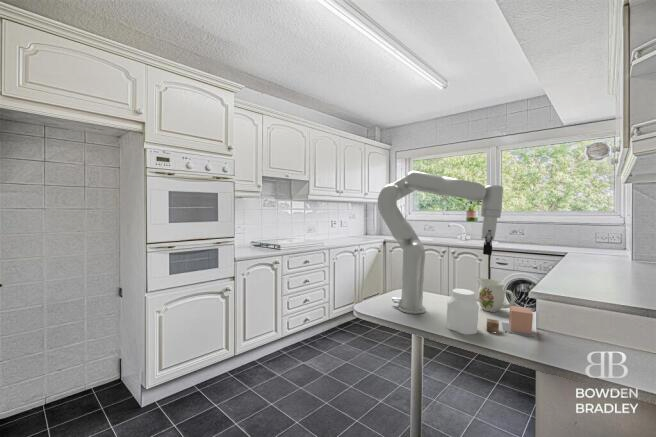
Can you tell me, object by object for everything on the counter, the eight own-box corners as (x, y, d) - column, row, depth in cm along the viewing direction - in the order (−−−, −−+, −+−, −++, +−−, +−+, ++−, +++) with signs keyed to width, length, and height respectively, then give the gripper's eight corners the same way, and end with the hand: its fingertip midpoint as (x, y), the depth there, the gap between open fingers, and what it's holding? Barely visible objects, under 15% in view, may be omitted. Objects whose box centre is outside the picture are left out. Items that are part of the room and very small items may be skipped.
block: (486, 331, 124) (487, 321, 124) (486, 328, 128) (487, 318, 128) (498, 334, 123) (498, 323, 122) (497, 330, 126) (498, 320, 126)
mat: (503, 331, 124) (503, 330, 124) (501, 323, 133) (501, 322, 133) (533, 337, 120) (533, 336, 120) (529, 327, 129) (529, 326, 129)
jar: (441, 326, 128) (443, 290, 127) (453, 321, 134) (455, 286, 133) (469, 336, 119) (472, 297, 118) (481, 330, 125) (483, 293, 124)
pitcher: (508, 318, 139) (510, 287, 138) (467, 307, 152) (469, 279, 152) (517, 313, 146) (519, 284, 145) (478, 303, 160) (479, 276, 159)
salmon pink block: (510, 330, 125) (511, 310, 124) (508, 324, 131) (510, 305, 131) (531, 334, 122) (532, 313, 121) (528, 327, 128) (530, 308, 128)
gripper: (481, 212, 147) (478, 249, 148) (480, 213, 131) (477, 254, 132) (500, 214, 143) (496, 251, 144) (501, 215, 128) (497, 257, 129)
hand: (487, 253), depth 138 cm, fingers open, 9 cm apart
